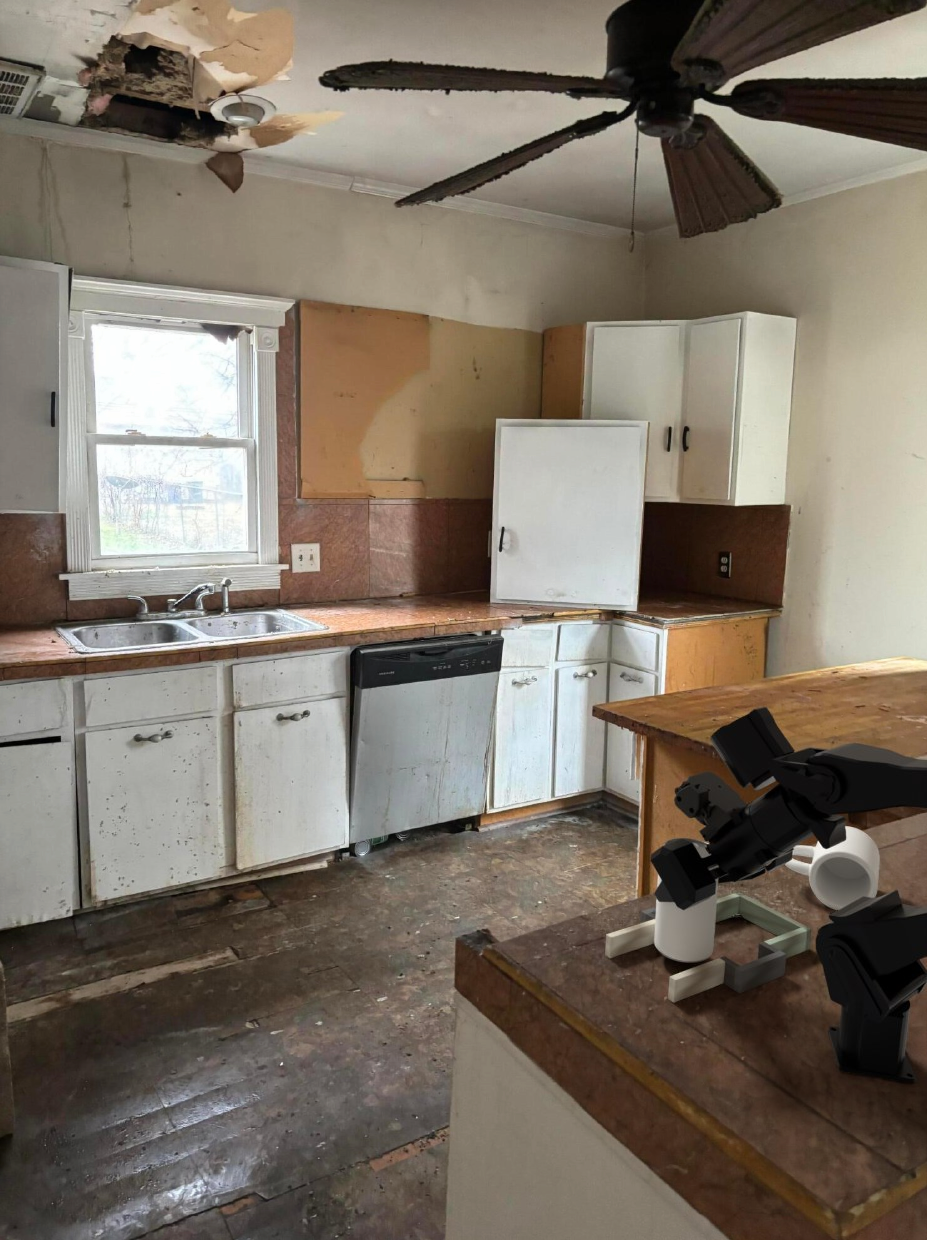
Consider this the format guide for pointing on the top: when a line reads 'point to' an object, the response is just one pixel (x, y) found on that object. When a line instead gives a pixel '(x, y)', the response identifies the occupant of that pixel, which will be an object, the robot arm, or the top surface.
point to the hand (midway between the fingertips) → (676, 889)
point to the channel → (724, 970)
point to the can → (686, 923)
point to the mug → (841, 869)
